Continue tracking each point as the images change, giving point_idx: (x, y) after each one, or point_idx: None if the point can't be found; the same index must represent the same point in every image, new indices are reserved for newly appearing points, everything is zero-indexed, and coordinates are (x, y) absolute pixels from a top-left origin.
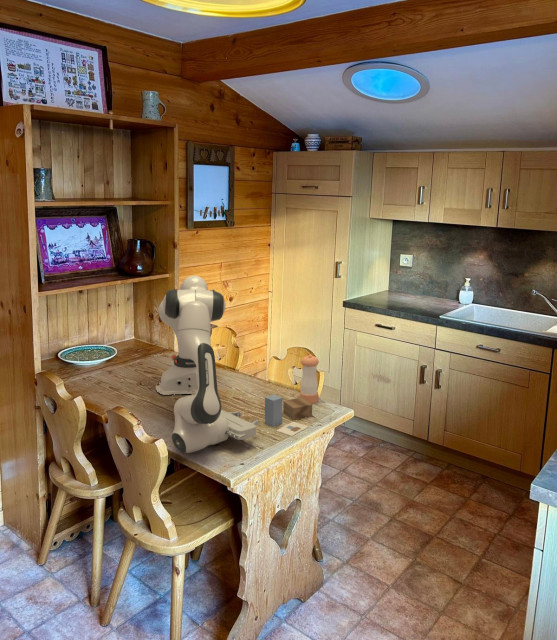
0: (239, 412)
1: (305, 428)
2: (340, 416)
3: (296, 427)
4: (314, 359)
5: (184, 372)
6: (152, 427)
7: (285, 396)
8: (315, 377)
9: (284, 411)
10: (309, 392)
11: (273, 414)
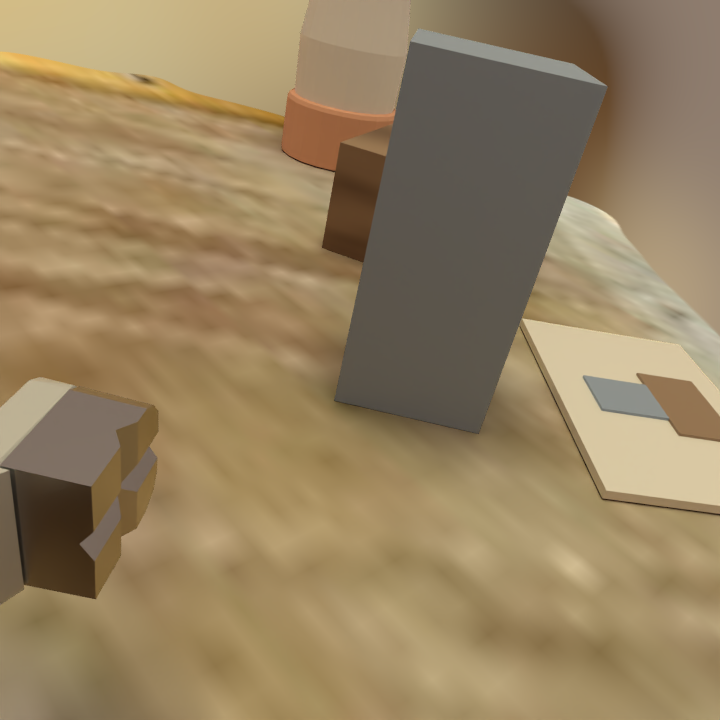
0: (120, 416)
1: (702, 372)
2: (619, 233)
3: (655, 382)
4: None
5: None
6: None
7: (176, 136)
8: None
9: (344, 236)
10: (380, 96)
11: (528, 294)
